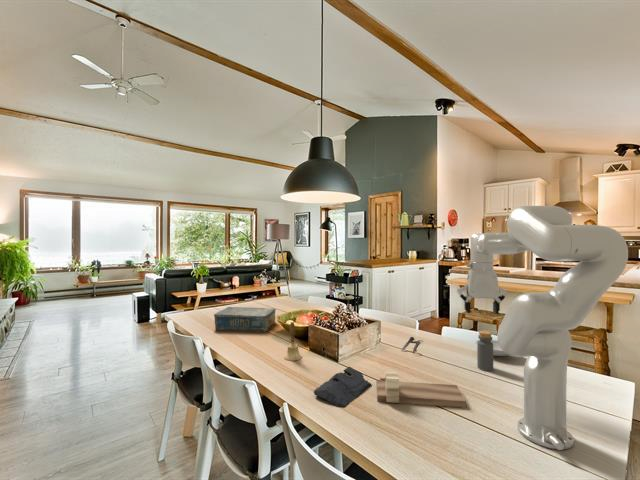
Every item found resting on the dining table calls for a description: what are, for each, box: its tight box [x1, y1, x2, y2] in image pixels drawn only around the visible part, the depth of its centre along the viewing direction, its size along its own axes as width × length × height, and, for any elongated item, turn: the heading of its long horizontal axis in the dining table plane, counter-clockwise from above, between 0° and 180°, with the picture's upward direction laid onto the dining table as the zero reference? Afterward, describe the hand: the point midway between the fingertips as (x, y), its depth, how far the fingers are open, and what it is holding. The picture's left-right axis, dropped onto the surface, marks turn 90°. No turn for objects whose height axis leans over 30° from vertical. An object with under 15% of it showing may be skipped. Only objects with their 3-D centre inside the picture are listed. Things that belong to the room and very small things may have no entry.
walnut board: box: [375, 379, 467, 408], centre depth 108 cm, size 11×28×2 cm, turn 81°
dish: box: [474, 339, 509, 357], centre depth 143 cm, size 18×14×5 cm
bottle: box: [476, 330, 494, 372], centre depth 130 cm, size 6×6×15 cm
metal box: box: [213, 306, 277, 333], centre depth 193 cm, size 21×32×10 cm, turn 81°
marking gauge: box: [385, 371, 400, 404], centre depth 108 cm, size 10×4×8 cm, turn 171°
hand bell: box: [283, 321, 303, 362], centre depth 143 cm, size 8×8×16 cm
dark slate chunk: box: [313, 366, 373, 408], centre depth 113 cm, size 15×22×5 cm
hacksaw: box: [400, 336, 423, 357], centre depth 155 cm, size 24×10×2 cm, turn 151°
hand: (481, 312), depth 116 cm, fingers open, 9 cm apart
